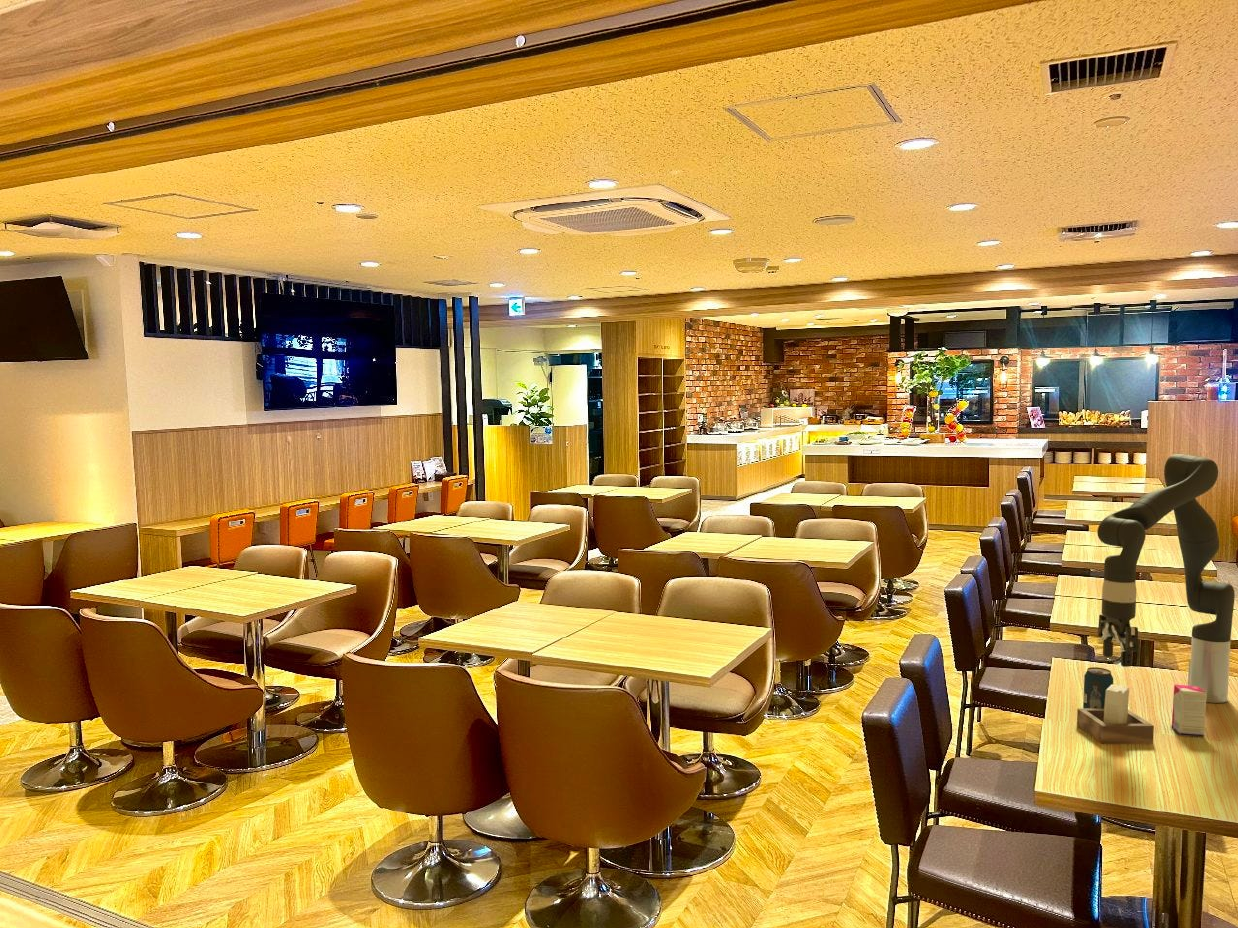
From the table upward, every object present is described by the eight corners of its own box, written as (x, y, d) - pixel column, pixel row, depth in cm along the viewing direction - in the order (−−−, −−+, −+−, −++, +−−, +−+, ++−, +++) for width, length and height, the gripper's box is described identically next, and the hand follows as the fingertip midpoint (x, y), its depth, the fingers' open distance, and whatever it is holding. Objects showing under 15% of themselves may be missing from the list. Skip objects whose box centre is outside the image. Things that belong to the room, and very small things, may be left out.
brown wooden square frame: (1076, 725, 242) (1077, 708, 242) (1125, 724, 242) (1125, 708, 242) (1102, 743, 230) (1102, 725, 229) (1153, 743, 230) (1153, 725, 229)
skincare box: (1108, 729, 239) (1110, 683, 238) (1127, 733, 236) (1129, 686, 235) (1101, 735, 235) (1103, 688, 234) (1121, 740, 232) (1123, 692, 231)
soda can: (1105, 709, 254) (1107, 666, 253) (1116, 718, 247) (1118, 674, 246) (1078, 709, 254) (1080, 666, 253) (1089, 718, 247) (1090, 673, 246)
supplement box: (1205, 737, 234) (1207, 692, 233) (1179, 735, 235) (1181, 691, 234) (1195, 728, 239) (1198, 685, 238) (1170, 727, 241) (1172, 683, 240)
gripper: (1150, 604, 226) (1147, 669, 227) (1118, 591, 240) (1116, 652, 241) (1119, 604, 226) (1116, 670, 227) (1089, 591, 240) (1087, 653, 241)
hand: (1116, 661), depth 234 cm, fingers open, 8 cm apart
